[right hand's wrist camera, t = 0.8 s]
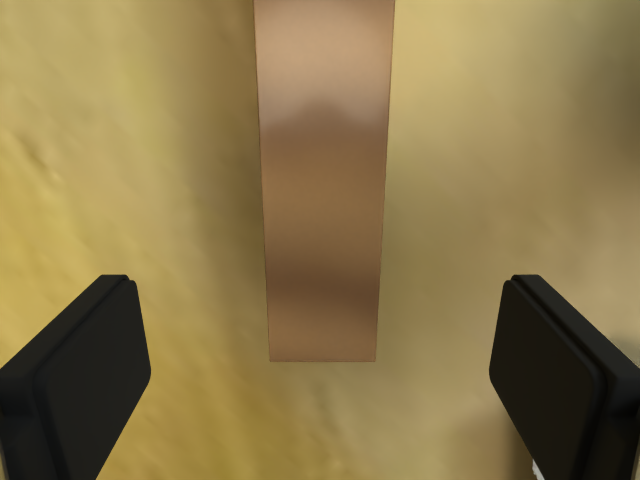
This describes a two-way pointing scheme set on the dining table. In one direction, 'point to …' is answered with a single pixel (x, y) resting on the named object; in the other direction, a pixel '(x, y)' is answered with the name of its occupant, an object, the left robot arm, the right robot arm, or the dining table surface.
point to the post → (323, 172)
